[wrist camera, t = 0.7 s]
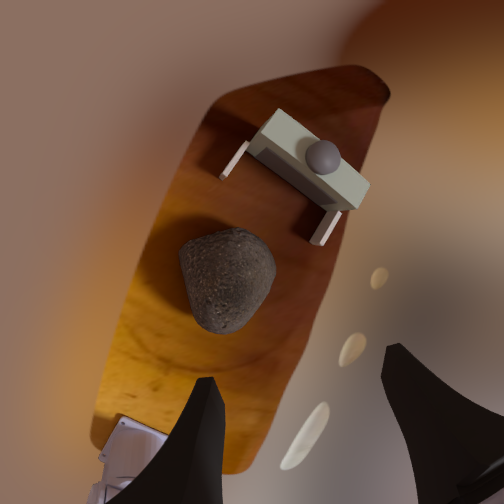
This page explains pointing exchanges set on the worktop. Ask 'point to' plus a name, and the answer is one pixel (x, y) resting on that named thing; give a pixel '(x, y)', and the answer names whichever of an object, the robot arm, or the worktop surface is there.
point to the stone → (226, 278)
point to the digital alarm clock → (306, 168)
